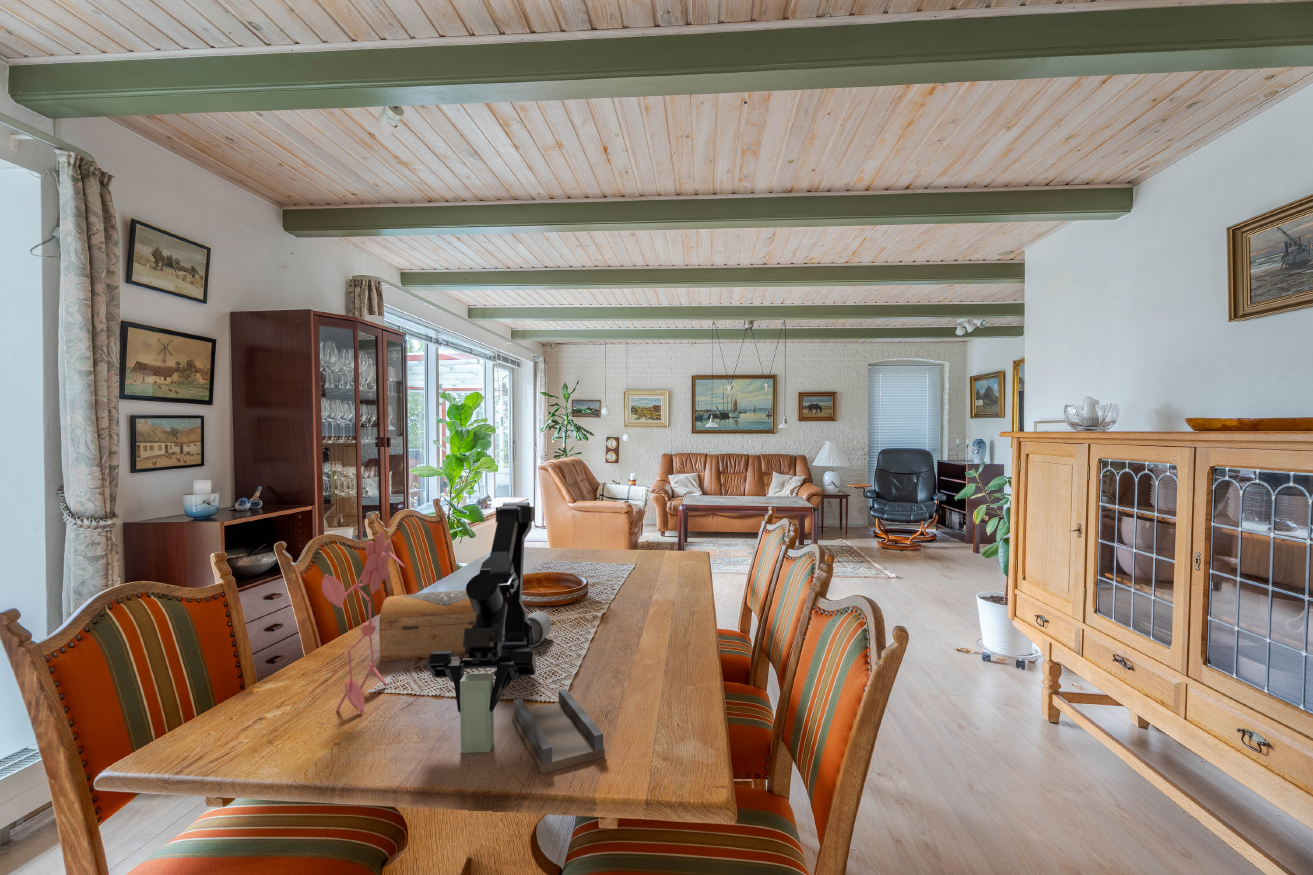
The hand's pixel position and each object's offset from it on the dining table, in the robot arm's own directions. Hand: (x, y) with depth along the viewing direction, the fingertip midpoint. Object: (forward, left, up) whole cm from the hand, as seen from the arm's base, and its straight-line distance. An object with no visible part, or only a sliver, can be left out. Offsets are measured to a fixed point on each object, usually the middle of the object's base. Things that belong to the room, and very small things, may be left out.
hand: (475, 711), depth 103 cm
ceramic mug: (-22, +49, -7) cm, 54 cm away
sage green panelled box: (-1, +1, -7) cm, 7 cm away
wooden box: (-41, +40, -8) cm, 58 cm away
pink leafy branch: (-32, +9, -7) cm, 34 cm away
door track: (+10, +9, -7) cm, 16 cm away
